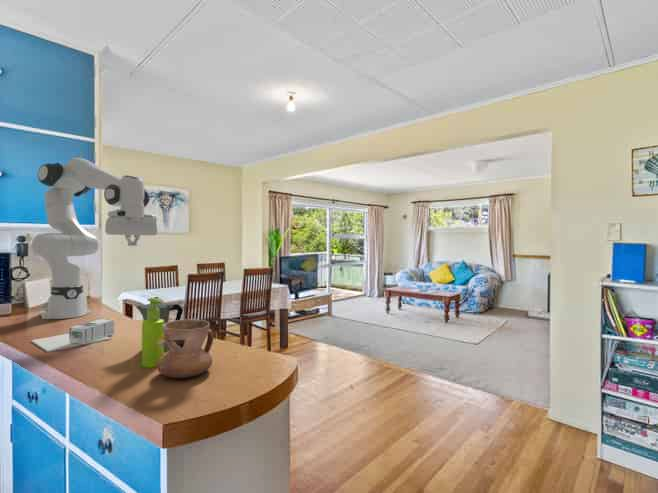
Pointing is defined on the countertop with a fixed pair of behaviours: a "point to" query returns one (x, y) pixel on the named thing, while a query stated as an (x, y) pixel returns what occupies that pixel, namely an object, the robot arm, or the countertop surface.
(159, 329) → the soap dispenser
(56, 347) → the grey mat
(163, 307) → the coffeepot
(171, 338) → the ceramic jug
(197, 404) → the countertop surface
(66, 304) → the robot arm
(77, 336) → the syrup box
